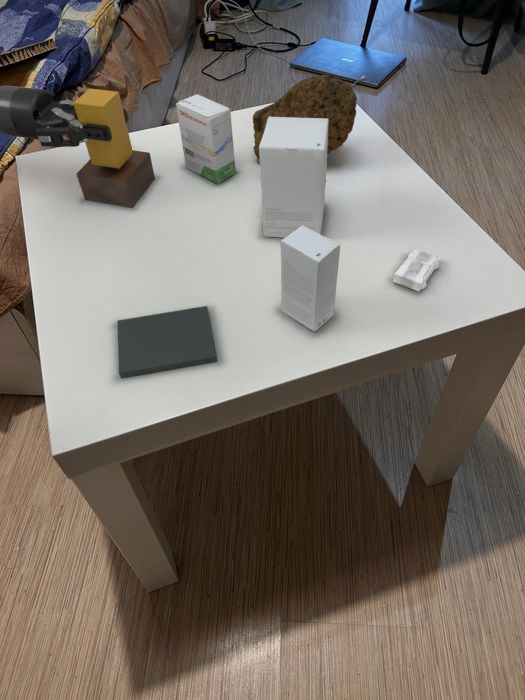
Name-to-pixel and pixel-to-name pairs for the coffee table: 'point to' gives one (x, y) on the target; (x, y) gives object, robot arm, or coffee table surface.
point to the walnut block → (117, 180)
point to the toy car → (416, 270)
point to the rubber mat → (165, 341)
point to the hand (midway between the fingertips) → (118, 125)
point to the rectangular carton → (293, 174)
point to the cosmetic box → (309, 277)
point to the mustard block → (108, 112)
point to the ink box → (207, 137)
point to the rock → (313, 108)
